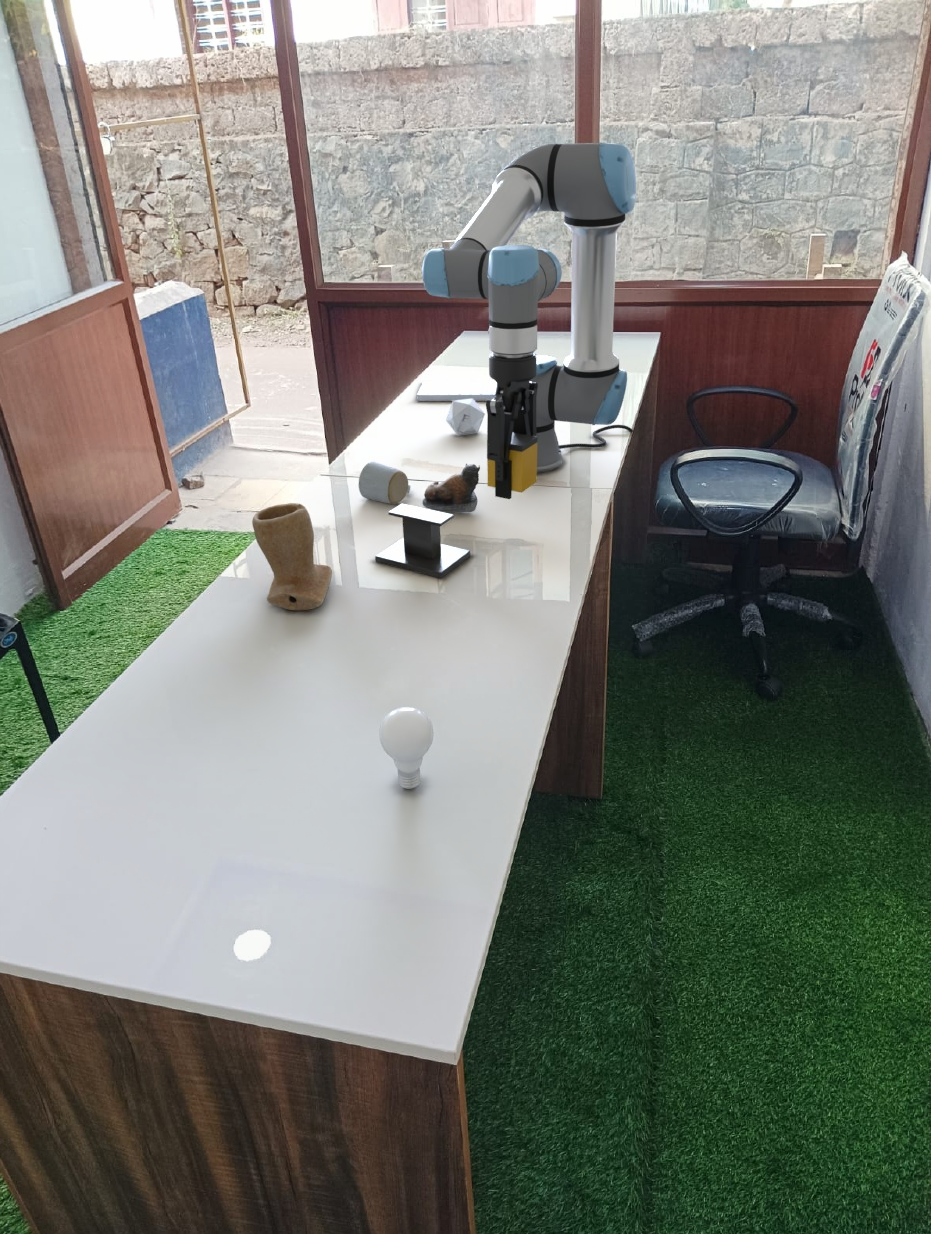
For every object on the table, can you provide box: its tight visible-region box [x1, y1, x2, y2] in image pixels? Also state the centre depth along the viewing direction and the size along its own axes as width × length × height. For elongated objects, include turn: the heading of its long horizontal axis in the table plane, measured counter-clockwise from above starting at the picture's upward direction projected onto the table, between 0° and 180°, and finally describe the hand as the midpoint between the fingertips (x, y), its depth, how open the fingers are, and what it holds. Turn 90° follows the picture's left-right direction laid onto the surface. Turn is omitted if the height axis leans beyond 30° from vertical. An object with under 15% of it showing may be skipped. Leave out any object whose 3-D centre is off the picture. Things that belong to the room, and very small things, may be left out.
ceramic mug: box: [358, 461, 411, 505], centre depth 189 cm, size 11×8×8 cm
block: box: [486, 432, 538, 493], centre depth 152 cm, size 6×6×8 cm
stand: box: [374, 503, 471, 579], centre depth 163 cm, size 10×14×9 cm
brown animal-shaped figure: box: [421, 463, 481, 513], centre depth 182 cm, size 12×7×10 cm, turn 72°
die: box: [445, 398, 486, 437], centre depth 225 cm, size 8×9×10 cm
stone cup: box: [251, 502, 333, 612], centre depth 152 cm, size 15×12×15 cm
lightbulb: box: [378, 706, 434, 790], centre depth 108 cm, size 6×6×11 cm
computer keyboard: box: [416, 380, 497, 402], centre depth 258 cm, size 43×19×2 cm, turn 85°
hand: (512, 490), depth 155 cm, fingers closed on block, 5 cm apart
